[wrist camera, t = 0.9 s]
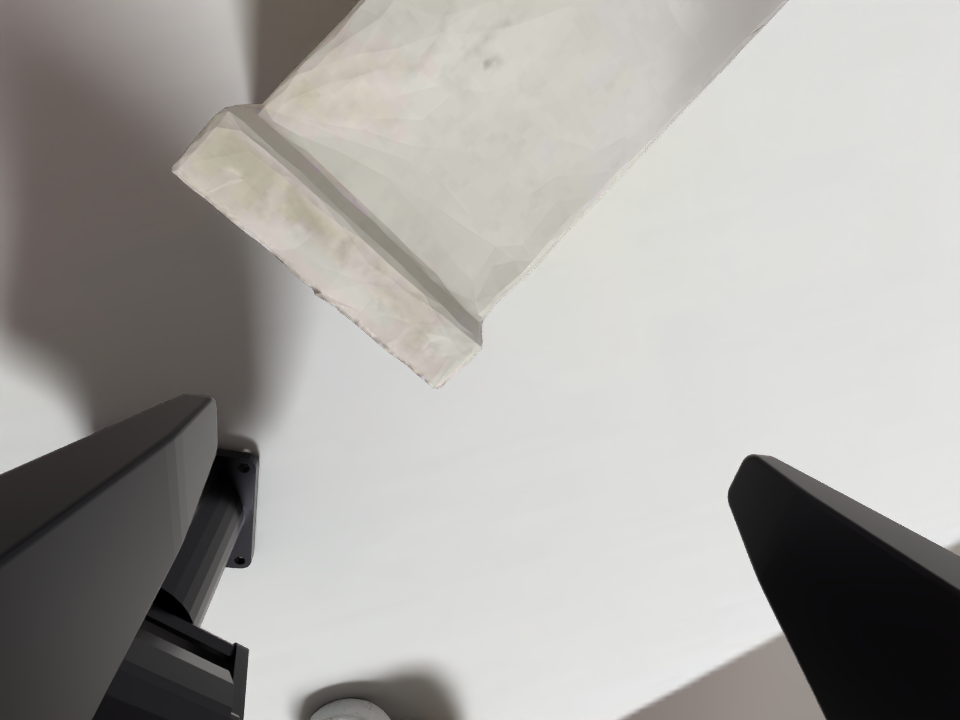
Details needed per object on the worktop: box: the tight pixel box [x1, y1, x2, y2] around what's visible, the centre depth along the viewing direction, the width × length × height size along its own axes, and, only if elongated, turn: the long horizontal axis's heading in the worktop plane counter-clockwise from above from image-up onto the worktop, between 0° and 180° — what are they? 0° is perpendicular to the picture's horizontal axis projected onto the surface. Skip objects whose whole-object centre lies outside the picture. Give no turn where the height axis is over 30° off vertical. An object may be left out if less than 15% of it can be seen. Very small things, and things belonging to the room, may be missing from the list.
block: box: [172, 0, 789, 389], centre depth 13 cm, size 19×8×8 cm, turn 131°
